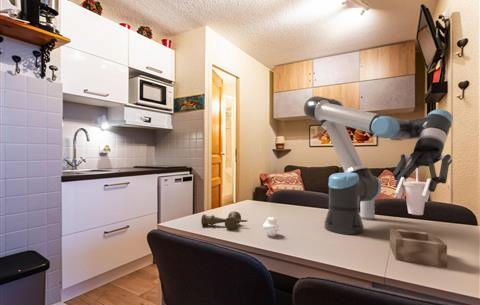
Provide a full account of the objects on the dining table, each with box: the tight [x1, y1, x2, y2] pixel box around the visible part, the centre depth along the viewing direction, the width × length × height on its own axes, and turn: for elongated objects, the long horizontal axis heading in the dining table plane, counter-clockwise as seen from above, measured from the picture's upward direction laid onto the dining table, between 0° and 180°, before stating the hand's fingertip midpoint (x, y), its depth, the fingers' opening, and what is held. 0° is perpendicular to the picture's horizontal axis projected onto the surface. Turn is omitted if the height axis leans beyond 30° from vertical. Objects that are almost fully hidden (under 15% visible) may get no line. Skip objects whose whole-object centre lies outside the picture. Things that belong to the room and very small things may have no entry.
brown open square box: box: [389, 228, 448, 268], centre depth 75 cm, size 12×12×6 cm
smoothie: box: [403, 168, 427, 216], centre depth 76 cm, size 6×6×14 cm
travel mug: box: [359, 198, 376, 221], centre depth 122 cm, size 6×7×20 cm
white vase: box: [262, 216, 280, 237], centre depth 94 cm, size 6×6×7 cm
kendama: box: [200, 211, 248, 231], centre depth 106 cm, size 6×10×20 cm
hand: (410, 196), depth 74 cm, fingers closed on smoothie, 6 cm apart
